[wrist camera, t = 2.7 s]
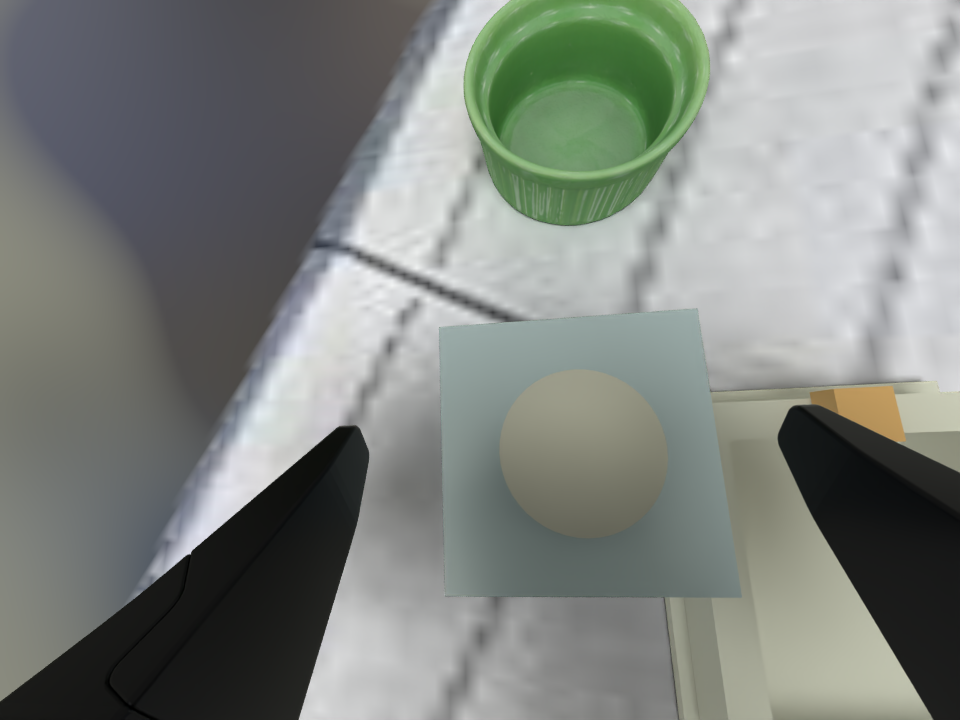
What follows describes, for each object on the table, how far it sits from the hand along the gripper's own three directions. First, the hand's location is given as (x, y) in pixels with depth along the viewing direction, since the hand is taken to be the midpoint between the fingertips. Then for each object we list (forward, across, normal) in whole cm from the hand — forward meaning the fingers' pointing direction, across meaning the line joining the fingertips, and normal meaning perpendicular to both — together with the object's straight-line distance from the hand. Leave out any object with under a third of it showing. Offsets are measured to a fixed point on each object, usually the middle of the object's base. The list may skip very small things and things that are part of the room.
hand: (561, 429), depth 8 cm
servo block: (+6, 0, +6) cm, 8 cm away
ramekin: (+15, -2, -3) cm, 16 cm away
